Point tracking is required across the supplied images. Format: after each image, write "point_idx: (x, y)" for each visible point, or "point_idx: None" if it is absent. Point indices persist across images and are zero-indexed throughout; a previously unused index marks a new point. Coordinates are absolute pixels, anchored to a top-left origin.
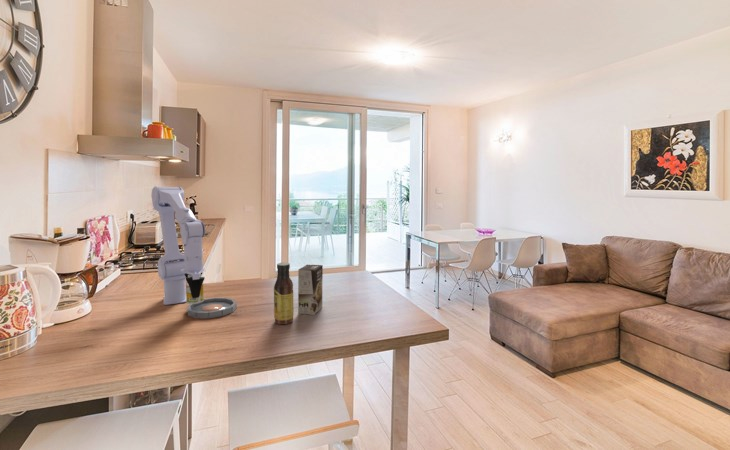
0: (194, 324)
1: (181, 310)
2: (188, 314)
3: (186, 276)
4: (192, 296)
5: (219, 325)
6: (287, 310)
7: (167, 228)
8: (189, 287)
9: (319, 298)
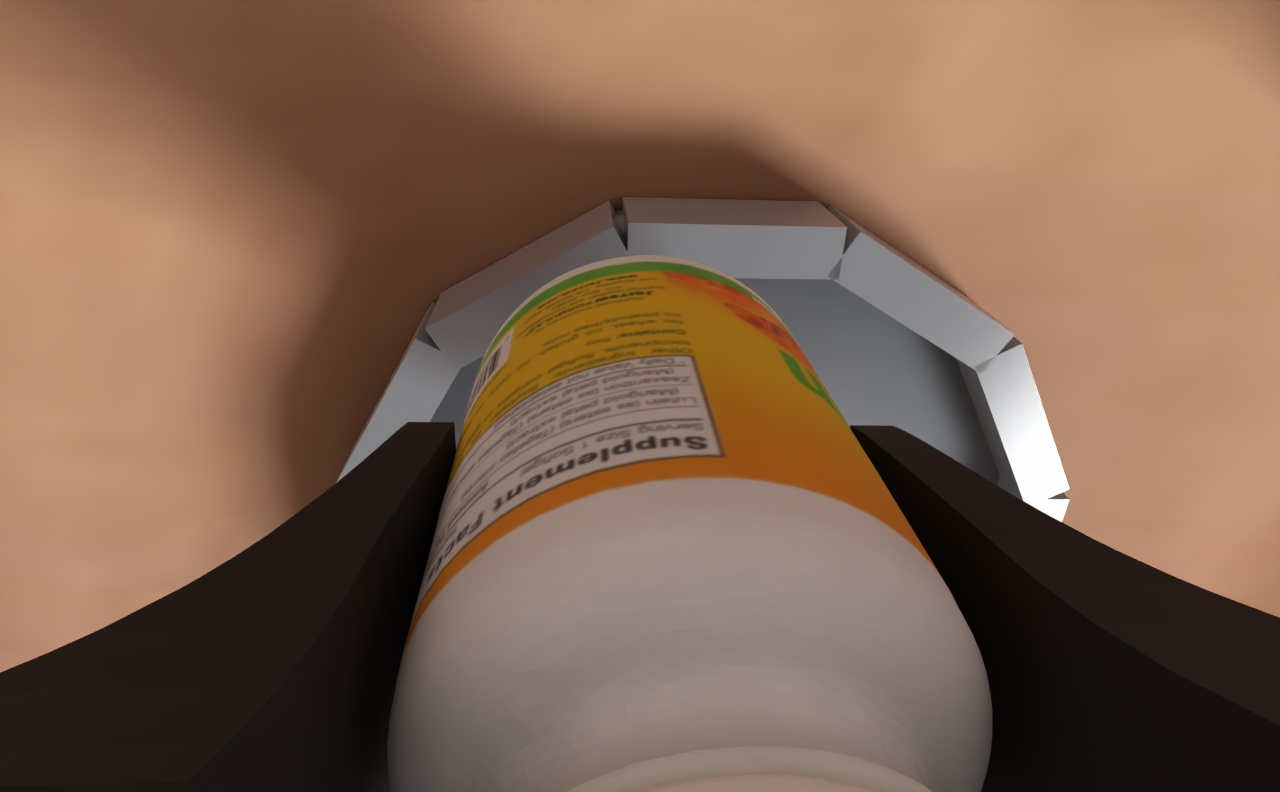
0: (152, 246)
1: (961, 121)
2: (603, 209)
3: (1220, 741)
4: (389, 444)
5: (10, 530)
6: None
7: None
8: (461, 539)
9: None
